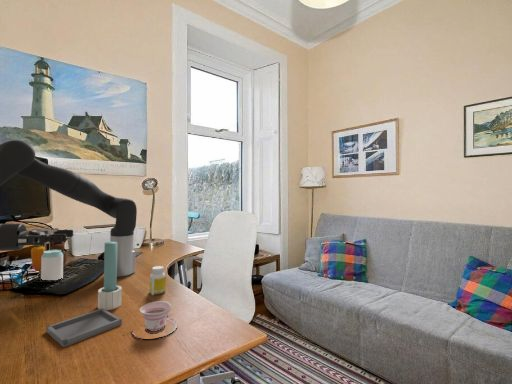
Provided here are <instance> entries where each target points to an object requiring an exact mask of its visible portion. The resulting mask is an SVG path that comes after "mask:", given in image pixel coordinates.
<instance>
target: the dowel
mask: <svg viewBox="0 0 512 384" xmlns="http://www.w3.org/2000/svg"><path fill="white" fill-rule="evenodd" d="M103 248H104V253H103V255H104V257H103V259H104V260H103V261H104V263H103V287H104V292H112V291H116V289H117V286H118V285H117V284H118V283H117V281H118V280H117V278H118V277H117V242H110V241H107V242H104V247H103Z"/></svg>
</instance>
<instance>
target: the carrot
mask: <svg viewBox="0 0 512 384" xmlns="http://www.w3.org/2000/svg"><path fill="white" fill-rule="evenodd" d="M44 251H47V250H46V247H45V246H43V245H35V246H34V247H32V248H31V250H30V257H31V264H32V267H33V269H34V270H35V272H36V271H40V272H41V256H42V255H43V254H44Z"/></svg>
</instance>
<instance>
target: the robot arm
mask: <svg viewBox="0 0 512 384" xmlns="http://www.w3.org/2000/svg"><path fill="white" fill-rule="evenodd" d="M15 175H17V176H20V177H23V178H26V179H29V180H31V181H33V182H35V183H38V184H40V185H41V186H43V187H46V188H48V189H50V190H53V191H55V192H56V193H59V194H61V195H62V196H65V197H67V198H69V199H72V200H75V201H76V202H79V203H83V204H85V205H87V206H91V207H93V208H95V209H98V210H100V211H101V212H103V213H105V214H106V215H108V216H109V217H111V218H113V219H115V223H114V227H112V228H111V229H110V237H109V238H110V241H109V242H117V278H119V277H120V278H121V277H127V276H129V275H132V274H133V273H136V251H135V250H134V239H135V238H134V232H135V229H136V226H137V215H138V214H137V211H138V210H137V205H136V203H135V201H134V200H132V199H130V198H123V197H116V196H114V195H112V194H109V193H107V192H105V191H103V190H102V189H101V188H99V187H98V186H97V185H96V184H95V183H94V182H93V181H92V180H90V179H88V178H86V177H84V176H82V175H80V174H79V173H76V172H73V171H72V170H68V169H65V168H61V167H58V166H53V165H50V164H47V163H45V162H42V161H41V160H39V159H37V158H36V152H35V149H34V148H33V147H32V145H30V144H29V143H28V142H25V141H23V140H19V139H18V140H17V139H15V140H8V141H5V142H3V143H0V187H1V186H2V185H4V184H5V183H6V182H7V181H9V180H10V179H11V178H13V177H14V176H15ZM72 237H74V230H73V229H59V228H58V227H56V228H32V229H29V231H28V230H27V227H26V225H25V224H24V223H0V252H7V251H21V250H23V248H24V247H25V246H36V245H41V246H43V245H45V244H46V245H47V244H50V243H53V242H63V243H65V242H66V241H67V238H72Z"/></svg>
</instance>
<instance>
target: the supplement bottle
mask: <svg viewBox="0 0 512 384" xmlns="http://www.w3.org/2000/svg"><path fill="white" fill-rule="evenodd" d="M164 270H165V267H164V266H162V265H161V266H160V265H155V266H153V267H152V268H151V273H150V275H149V294H150V295H151V296H160V295H163V294H165V293H166V278H167V277H166V273H165V272H164Z"/></svg>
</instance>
